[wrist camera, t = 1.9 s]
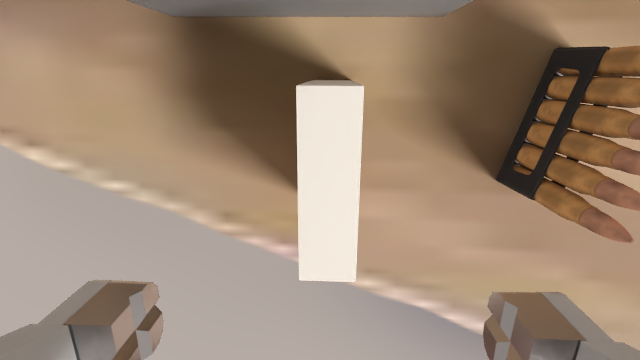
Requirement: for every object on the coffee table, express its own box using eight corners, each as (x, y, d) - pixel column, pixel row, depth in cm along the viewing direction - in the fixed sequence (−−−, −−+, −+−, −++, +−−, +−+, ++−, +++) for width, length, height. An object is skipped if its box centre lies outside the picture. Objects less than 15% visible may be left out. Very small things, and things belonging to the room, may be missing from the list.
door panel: (351, 80, 26) (364, 86, 15) (347, 200, 29) (355, 282, 18) (312, 80, 27) (296, 85, 15) (313, 200, 30) (299, 280, 18)
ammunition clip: (555, 47, 25) (739, 26, 14) (578, 54, 25) (781, 39, 14) (495, 180, 28) (604, 253, 17) (516, 186, 28) (639, 262, 17)
